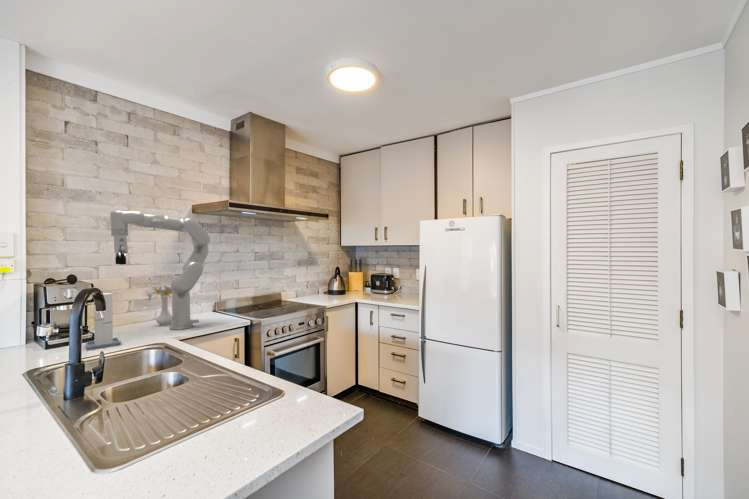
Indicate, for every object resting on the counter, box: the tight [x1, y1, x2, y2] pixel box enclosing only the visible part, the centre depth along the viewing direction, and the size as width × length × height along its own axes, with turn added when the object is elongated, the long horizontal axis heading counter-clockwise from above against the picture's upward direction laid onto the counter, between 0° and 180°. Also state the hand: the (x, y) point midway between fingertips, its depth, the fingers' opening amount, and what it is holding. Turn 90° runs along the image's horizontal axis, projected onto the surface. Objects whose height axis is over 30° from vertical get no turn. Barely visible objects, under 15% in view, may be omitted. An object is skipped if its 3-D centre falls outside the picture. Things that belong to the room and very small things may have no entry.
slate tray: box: [85, 337, 122, 351], centre depth 170 cm, size 13×13×2 cm
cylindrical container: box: [93, 292, 114, 346], centre depth 170 cm, size 7×7×25 cm
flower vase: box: [145, 285, 172, 327], centre depth 216 cm, size 13×18×25 cm
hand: (120, 264), depth 188 cm, fingers open, 9 cm apart
